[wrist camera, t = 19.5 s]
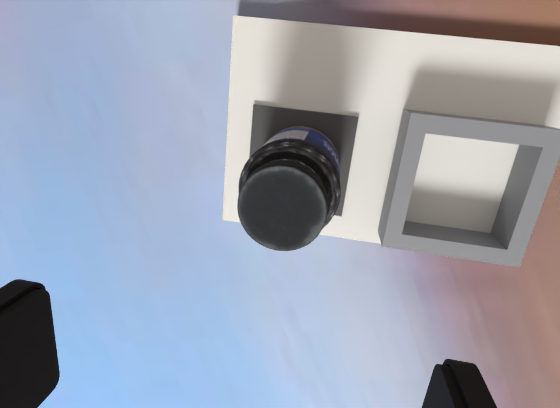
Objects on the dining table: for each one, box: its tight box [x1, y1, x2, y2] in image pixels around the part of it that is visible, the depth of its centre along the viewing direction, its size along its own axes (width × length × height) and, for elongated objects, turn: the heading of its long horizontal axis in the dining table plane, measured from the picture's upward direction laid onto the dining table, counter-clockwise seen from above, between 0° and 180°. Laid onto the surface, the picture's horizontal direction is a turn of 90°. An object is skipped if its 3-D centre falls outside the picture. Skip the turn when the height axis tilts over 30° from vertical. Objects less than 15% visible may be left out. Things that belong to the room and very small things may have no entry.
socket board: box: [223, 15, 560, 267], centre depth 27 cm, size 24×16×4 cm, turn 84°
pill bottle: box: [237, 126, 341, 251], centre depth 24 cm, size 6×6×11 cm
